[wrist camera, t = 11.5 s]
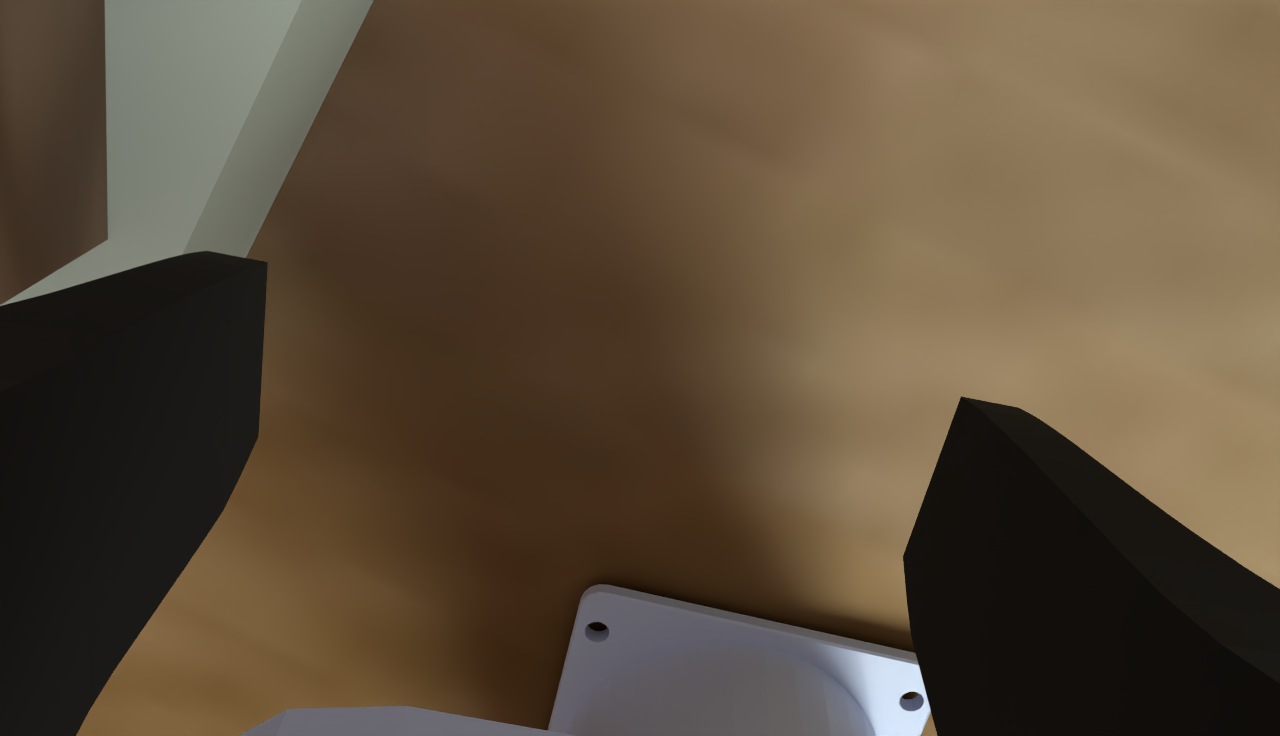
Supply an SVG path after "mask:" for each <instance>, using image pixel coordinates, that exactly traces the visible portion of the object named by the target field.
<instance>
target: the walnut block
mask: <svg viewBox="0 0 1280 736" xmlns="http://www.w3.org/2000/svg"><path fill="white" fill-rule="evenodd" d="M106 240H108V209H107V135H106V62H105V0H0V305H1V304H3V303H5V302H6V301H8V300H10V299H11V298H13V297H14V296H16V295H18V294H19V293H21V292H23V291H24V290H26V289H28V288H29V287H31V286H32V285H34V284H36V283H37V282H39V281H41V280H42V279H44V278H46V277H47V276H49V275H50V274H52V273H54V272H55V271H57V270H59V269H60V268H62V267H64V266H65V265H67V264H69V263H70V262H72V261H73V260H75V259H77V258H78V257H80V256H82V255H83V254H85V253H87V252H88V251H90V250H91V249H93V248H95V247H96V246H98V245H100V244H101V243H103V242H105V241H106Z"/></svg>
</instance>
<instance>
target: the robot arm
mask: <svg viewBox="0 0 1280 736" xmlns="http://www.w3.org/2000/svg"><path fill="white" fill-rule="evenodd" d="M267 264H268V262H263V261H258V260H253V259H248V258H242V257H237V256H232V255H227V254H222V253H217V252H211V251H201V252H193V253H188V254H183V255H179V256H175V257H171V258H167V259H163V260H159V261H156V262H152V263H149V264H145V265H142V266H139V267H135V268H132V269H129V270H125V271H122V272H119V273H115V274H112V275H109V276H105V277H102V278H99V279H95V280H92V281H89V282H85V283H82V284H79V285H75V286H72V287H69V288H65V289H62V290H59V291H55V292H52V293H48V294H44V295H40V296H37V297H33V298H29V299H25V300H21V301H17V302H13V303H10V304H6V305H2V306H0V736H76V734H77V733H78V731H79V729H80V727H81V725H82V723H83V721H84V719H85V717H86V716H87V714H88V712H89V710H90V708H91V707H92V705H93V704H94V702H95V700H96V699H97V697H98V695H99V694H100V692H101V691H102V689H103V687H104V686H105V684H106V683H107V681H108V679H109V678H110V676H111V674H112V673H113V671H114V670H115V668H116V667H117V665H118V664H119V663H120V661H121V660H122V658H123V657H124V655H125V654H126V652H127V651H128V649H129V648H130V647H131V645H132V644H133V642H134V641H135V639H136V638H137V636H138V635H139V634H140V632H141V631H142V629H143V628H144V626H145V625H146V623H147V622H148V620H149V619H150V618H151V616H152V615H153V613H154V612H155V610H156V609H157V607H158V606H159V605H160V603H161V602H162V600H163V599H164V597H165V596H166V594H167V593H168V591H169V590H170V589H171V587H172V586H173V584H174V583H175V581H176V580H177V578H178V577H179V576H180V574H181V573H182V571H183V570H184V568H185V567H186V565H187V564H188V562H189V561H190V559H191V558H192V556H193V555H194V554H195V552H196V551H197V549H198V548H199V546H200V545H201V543H202V542H203V540H204V539H205V537H206V536H207V534H208V533H209V531H210V530H211V528H212V527H213V525H214V524H215V522H216V521H217V519H218V518H219V516H220V515H221V513H222V512H223V510H224V508H225V506H226V504H227V502H228V500H229V498H230V496H231V494H232V492H233V490H234V488H235V486H236V484H237V482H238V480H239V478H240V475H241V473H242V471H243V469H244V467H245V464H246V462H247V460H248V458H249V456H250V453H251V451H252V449H253V447H254V445H255V442H256V440H257V438H258V432H259V413H260V395H261V376H262V357H263V339H264V320H265V301H266V283H267ZM903 561H904V572H905V584H906V595H907V605H908V613H909V621H910V629H911V636H912V640H913V645H914V649H915V653H913V652H909V651H904V650H900V649H895V648H891V647H886V646H882V645H877V644H873V643H868V642H864V641H859V640H855V639H850V638H846V637H841V636H837V635H832V634H828V633H823V632H819V631H814V630H810V629H805V628H801V627H796V626H792V625H787V624H783V623H778V622H774V621H769V620H765V619H760V618H756V617H751V616H747V615H742V614H738V613H733V612H729V611H724V610H720V609H715V608H711V607H706V606H702V605H697V604H693V603H688V602H684V601H679V600H675V599H670V598H666V597H661V596H657V595H652V594H648V593H643V592H639V591H634V590H630V589H625V588H621V587H616V586H612V585H605V584H598V585H595V586H591V587H590V588H588V589H587V590H586V591H584V593H583V595H582V597H581V599H580V603H579V607H578V611H577V615H576V619H575V623H574V627H573V631H572V635H571V639H570V643H569V647H568V651H567V655H566V659H565V663H564V667H563V671H562V675H561V678H560V682H559V686H558V690H557V694H556V698H555V702H554V706H553V710H552V714H551V718H550V722H549V726H548V730H541V729H536V728H530V727H524V726H518V725H513V724H507V723H501V722H496V721H490V720H484V719H478V718H473V717H467V716H461V715H456V714H450V713H444V712H438V711H433V710H427V709H421V708H416V707H410V706H382V707H343V708H304V709H287V710H285V711H283V712H281V713H279V714H278V715H276V716H274V717H272V718H270V719H268V720H267V721H265V722H263V723H261V724H259V725H257V726H256V727H254V728H252V729H250V730H248V731H246V732H244V733H243V734H241V735H239V736H921V734H922V731H923V729H924V727H925V724H926V722H927V719H928V717H929V714H930V712H931V713H932V717H933V721H934V724H935V728H936V732H937V735H938V736H1280V589H1279V588H1277V587H1275V586H1274V585H1272V584H1271V583H1269V582H1267V581H1266V580H1264V579H1263V578H1261V577H1259V576H1258V575H1256V574H1255V573H1253V572H1251V571H1250V570H1248V569H1247V568H1245V567H1244V566H1242V565H1241V564H1239V563H1238V562H1236V561H1235V560H1233V559H1232V558H1230V557H1229V556H1227V555H1226V554H1224V553H1223V552H1222V551H1220V550H1219V549H1217V548H1216V547H1214V546H1213V545H1211V544H1210V543H1208V542H1207V541H1205V540H1204V539H1202V538H1201V537H1199V536H1198V535H1197V534H1195V533H1194V532H1192V531H1191V530H1189V529H1188V528H1187V527H1185V526H1184V525H1182V524H1181V523H1180V522H1178V521H1177V520H1175V519H1174V518H1173V517H1171V516H1170V515H1168V514H1167V513H1166V512H1164V511H1163V510H1162V509H1160V508H1159V507H1158V506H1156V505H1155V504H1153V503H1152V502H1151V501H1149V500H1148V499H1147V498H1145V497H1144V496H1143V495H1141V494H1140V493H1139V492H1137V491H1136V490H1135V489H1133V488H1132V487H1131V486H1129V485H1128V484H1127V483H1125V482H1124V481H1123V480H1122V479H1120V478H1119V477H1118V476H1116V475H1115V474H1114V473H1112V472H1111V471H1110V470H1108V469H1107V468H1106V467H1104V466H1103V465H1102V464H1100V463H1099V462H1098V461H1096V460H1095V459H1094V458H1093V457H1091V456H1090V455H1089V454H1087V453H1086V452H1085V451H1083V450H1082V449H1081V448H1079V447H1078V446H1077V445H1075V444H1074V443H1073V442H1071V441H1070V440H1068V439H1067V438H1066V437H1064V436H1063V435H1062V434H1060V433H1059V432H1057V431H1056V430H1054V429H1053V428H1052V427H1050V426H1049V425H1047V424H1046V423H1044V422H1043V421H1041V420H1040V419H1038V418H1036V417H1035V416H1033V415H1031V414H1029V413H1028V412H1026V411H1024V410H1022V409H1020V408H1017V407H1012V406H1007V405H1001V404H996V403H991V402H986V401H981V400H976V399H970V398H965V397H961V398H960V401H959V404H958V407H957V409H956V412H955V415H954V418H953V420H952V423H951V426H950V429H949V431H948V434H947V437H946V440H945V442H944V445H943V448H942V451H941V453H940V456H939V459H938V462H937V464H936V467H935V470H934V473H933V475H932V478H931V481H930V484H929V486H928V489H927V492H926V495H925V497H924V500H923V503H922V506H921V508H920V511H919V514H918V517H917V519H916V522H915V525H914V528H913V530H912V533H911V536H910V539H909V541H908V544H907V547H906V550H905V552H904V555H903ZM592 622H601V623H603V624H605V625H606V626H607V628H608V629H606V630H604V631H594V630H592V629H590V628H589V626H588V624H590V623H592ZM907 692H917V693H919V695H918V696H917V697H915V698H913V699H903V698H901V697H902V695H903V694H905V693H907Z"/></svg>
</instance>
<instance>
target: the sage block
mask: <svg viewBox="0 0 1280 736" xmlns="http://www.w3.org/2000/svg"><path fill="white" fill-rule="evenodd" d="M373 1H374V0H105V62H106V135H107V209H108V240H106V241H105V242H103V243H101V244H100V245H98V246H96V247H95V248H93V249H91V250H90V251H88V252H87V253H85V254H83V255H82V256H80V257H78V258H77V259H75V260H73V261H72V262H70V263H69V264H67V265H65V266H64V267H62V268H60V269H59V270H57V271H55V272H54V273H52V274H50V275H49V276H47V277H46V278H44V279H42V280H41V281H39V282H37V283H36V284H34V285H32V286H31V287H29V288H28V289H26V290H24V291H23V292H21V293H19V294H18V295H16V296H14V297H13V298H11V299H10V300H8V301H6V302H5V303H3V304H1V305H0V306H2V305H6V304H10V303H13V302H17V301H21V300H25V299H29V298H33V297H37V296H40V295H44V294H48V293H52V292H55V291H59V290H62V289H65V288H69V287H72V286H75V285H79V284H82V283H85V282H89V281H92V280H95V279H99V278H102V277H105V276H109V275H112V274H115V273H119V272H122V271H125V270H129V269H132V268H135V267H139V266H142V265H145V264H149V263H152V262H156V261H159V260H163V259H167V258H171V257H175V256H179V255H183V254H188V253H193V252H201V251H211V252H217V253H222V254H227V255H232V256H237V257H242V258H246V257H247V255H248V253H249V251H250V249H251V247H252V245H253V243H254V241H255V239H256V237H257V235H258V233H259V231H260V228H261V226H262V224H263V222H264V220H265V218H266V216H267V214H268V212H269V210H270V208H271V206H272V204H273V202H274V200H275V198H276V196H277V194H278V192H279V190H280V188H281V186H282V184H283V182H284V180H285V178H286V176H287V174H288V172H289V170H290V168H291V166H292V164H293V162H294V160H295V158H296V156H297V154H298V152H299V150H300V148H301V146H302V144H303V142H304V140H305V138H306V136H307V134H308V132H309V130H310V128H311V126H312V124H313V122H314V120H315V118H316V116H317V114H318V112H319V110H320V107H321V105H322V103H323V101H324V99H325V97H326V95H327V93H328V91H329V89H330V87H331V85H332V83H333V81H334V79H335V77H336V75H337V73H338V71H339V69H340V67H341V65H342V63H343V61H344V59H345V57H346V55H347V53H348V51H349V49H350V47H351V45H352V43H353V41H354V39H355V37H356V35H357V33H358V31H359V29H360V27H361V25H362V23H363V21H364V19H365V17H366V15H367V13H368V11H369V9H370V7H371V5H372V3H373Z"/></svg>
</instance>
